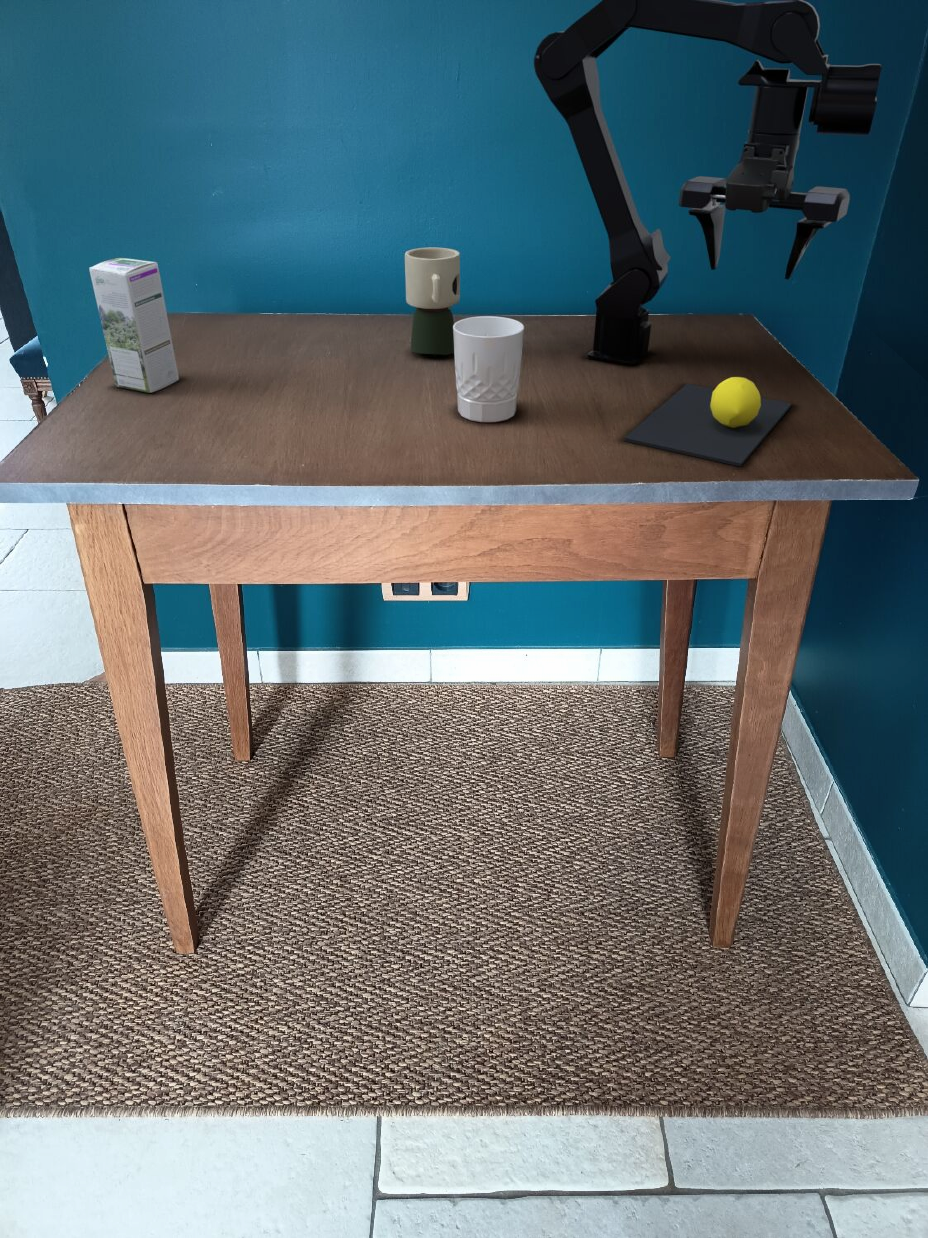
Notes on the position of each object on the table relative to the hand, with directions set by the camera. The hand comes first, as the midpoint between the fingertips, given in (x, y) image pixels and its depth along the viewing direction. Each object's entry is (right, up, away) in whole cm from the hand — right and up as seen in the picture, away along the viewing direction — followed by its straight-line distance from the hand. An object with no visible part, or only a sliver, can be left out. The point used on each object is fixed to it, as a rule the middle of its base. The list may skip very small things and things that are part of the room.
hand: (749, 273), depth 114 cm
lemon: (-5, -21, -10) cm, 24 cm away
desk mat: (-7, -20, -9) cm, 23 cm away
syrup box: (-75, -13, +2) cm, 76 cm away
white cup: (-33, -19, -6) cm, 38 cm away
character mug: (-39, -7, +12) cm, 42 cm away
